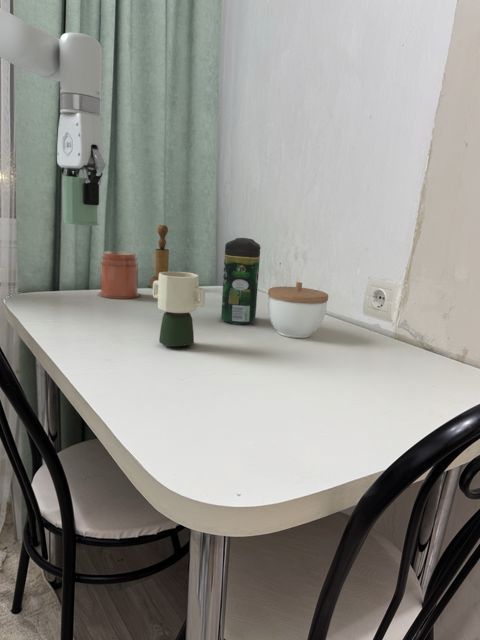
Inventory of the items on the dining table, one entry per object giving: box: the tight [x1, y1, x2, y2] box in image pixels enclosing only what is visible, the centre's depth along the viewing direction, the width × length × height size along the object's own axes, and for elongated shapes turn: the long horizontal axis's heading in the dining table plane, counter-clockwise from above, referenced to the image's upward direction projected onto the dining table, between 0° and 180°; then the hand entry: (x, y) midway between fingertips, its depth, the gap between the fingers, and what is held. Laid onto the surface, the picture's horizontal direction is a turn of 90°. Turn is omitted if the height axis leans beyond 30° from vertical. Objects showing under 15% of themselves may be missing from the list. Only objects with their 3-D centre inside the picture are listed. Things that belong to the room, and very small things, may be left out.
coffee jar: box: [220, 237, 262, 325], centre depth 113 cm, size 10×8×19 cm
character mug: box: [152, 271, 206, 348], centre depth 90 cm, size 11×7×13 cm, turn 64°
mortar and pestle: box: [149, 224, 170, 289], centre depth 147 cm, size 7×6×18 cm
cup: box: [62, 175, 100, 227], centre depth 103 cm, size 7×7×9 cm
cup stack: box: [99, 250, 139, 300], centre depth 131 cm, size 10×10×11 cm
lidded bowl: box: [267, 281, 329, 339], centre depth 107 cm, size 13×13×11 cm
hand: (81, 202), depth 103 cm, fingers closed on cup, 6 cm apart
